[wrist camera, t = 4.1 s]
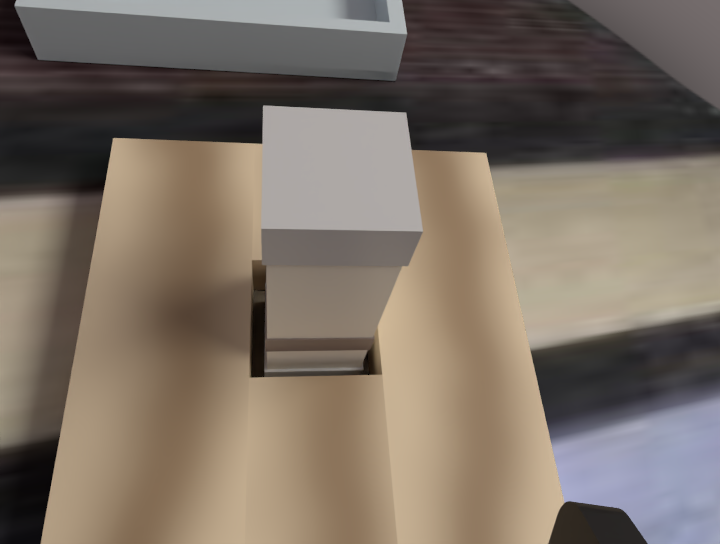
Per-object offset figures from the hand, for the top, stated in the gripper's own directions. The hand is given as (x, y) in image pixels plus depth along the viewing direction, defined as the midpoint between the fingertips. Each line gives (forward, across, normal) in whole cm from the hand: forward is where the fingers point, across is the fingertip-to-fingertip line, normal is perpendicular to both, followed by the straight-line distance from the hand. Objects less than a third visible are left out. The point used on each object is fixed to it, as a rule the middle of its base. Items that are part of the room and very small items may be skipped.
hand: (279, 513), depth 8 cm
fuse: (+14, 0, +3) cm, 15 cm away
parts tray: (+29, +8, -11) cm, 31 cm away
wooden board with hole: (+14, 0, +3) cm, 15 cm away
